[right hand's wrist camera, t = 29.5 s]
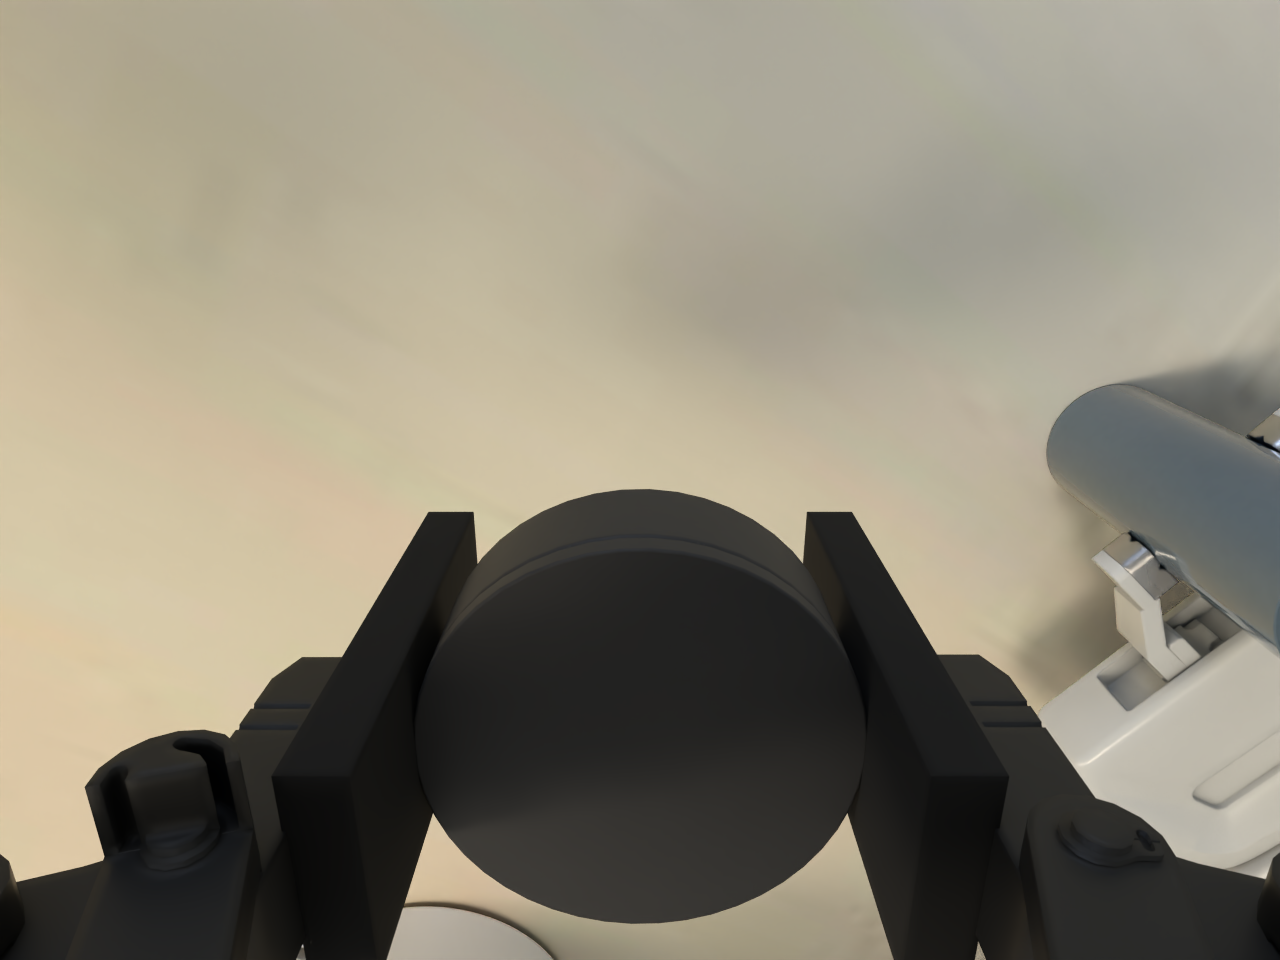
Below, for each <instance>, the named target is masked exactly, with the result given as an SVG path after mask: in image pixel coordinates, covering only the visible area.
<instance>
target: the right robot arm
mask: <svg viewBox="0 0 1280 960" xmlns="http://www.w3.org/2000/svg"><path fill="white" fill-rule="evenodd" d="M803 565H804V566H805V567H806V568H807V569H808V571H809V573H810V574H811V576H812V578H813V579H814V581H815V583H816V584H817V586H818V588H819V589H820V591H821V593H822V596H823V598H824V601H825V603H826V605H827V608H828V610H829V613H830V615H831V618H832V620H833V622H834V625H835V627H836V630H837V632H838V634H839V637H840V639H841V642H842V644H843V646H844V649H845V651H846V654H847V656H848V658H849V661H850V663H851V666H852V668H853V671H854V673H855V675H856V678H857V680H858V683H859V685H860V688H861V692H862V697H863V701H864V705H865V709H866V718H867V736H866V745H865V755H864V763H863V771H862V778H861V782H860V786H859V788H858V791H857V793H856V795H855V798H854V800H853V803H852V805H851V807H850V809H849V811H848V816H849V819H850V822H851V826H852V829H853V832H854V835H855V838H856V841H857V845H858V848H859V851H860V854H861V857H862V860H863V864H864V867H865V870H866V873H867V876H868V879H869V883H870V886H871V889H872V892H873V895H874V898H875V902H876V905H877V908H878V911H879V914H880V917H881V921H882V924H883V927H884V930H885V933H886V936H887V940H888V943H889V946H890V949H891V952H892V956H893V959H894V960H975V955H976V950H977V945H978V942H979V944H980V946H981V949H982V951H983V953H984V956H985V958H986V960H1280V853H1278V854H1277V855H1276V856H1275V857H1273V859H1272V862H1271V865H1270V868H1269V871H1268V874H1267V877H1266V879H1263V878H1259V877H1255V876H1251V875H1246V874H1242V873H1238V872H1233V871H1229V870H1225V869H1220V868H1216V867H1212V866H1207V865H1203V864H1199V863H1195V862H1192V861H1189V860H1185V859H1182V858H1179V857H1176V855H1175V854H1174V852H1173V851H1172V849H1171V848H1170V846H1169V845H1168V843H1167V842H1166V840H1165V839H1164V837H1163V836H1162V835H1161V834H1160V833H1159V832H1158V831H1156V830H1155V829H1154V828H1153V827H1152V826H1150V825H1149V824H1148V823H1147V822H1146V821H1145V820H1143V819H1142V818H1141V817H1139V816H1137V815H1135V814H1133V813H1131V812H1129V811H1127V810H1126V809H1124V808H1122V807H1120V806H1118V805H1116V804H1114V803H1110V802H1107V801H1103V800H1100V799H1097V798H1095V796H1094V795H1093V794H1092V792H1091V791H1090V789H1089V788H1088V786H1087V785H1086V784H1085V782H1084V781H1083V779H1082V778H1081V777H1080V775H1079V774H1078V772H1077V771H1076V770H1075V768H1074V767H1073V765H1072V764H1071V763H1070V761H1069V760H1068V758H1067V757H1066V756H1065V754H1064V753H1063V751H1062V750H1061V748H1060V747H1059V746H1058V744H1057V743H1056V741H1055V740H1054V739H1053V737H1052V736H1051V734H1050V733H1049V732H1048V730H1047V729H1046V727H1042V722H1041V720H1040V719H1039V718H1038V716H1037V715H1036V713H1035V712H1034V710H1033V709H1032V708H1031V706H1027V701H1026V699H1025V698H1024V696H1023V695H1022V694H1021V692H1020V691H1019V689H1018V688H1017V687H1016V685H1015V684H1014V682H1013V681H1012V680H1011V678H1010V677H1009V676H1008V675H1007V674H1005V673H1004V672H1003V671H1001V670H1000V669H998V668H997V667H995V666H994V665H993V664H991V663H990V662H988V661H987V660H986V659H984V658H983V657H981V656H980V655H937V654H936V652H935V651H934V649H933V647H932V646H931V644H930V642H929V640H928V639H927V637H926V635H925V634H924V632H923V630H922V629H921V627H920V625H919V624H918V622H917V620H916V619H915V617H914V615H913V614H912V612H911V610H910V609H909V607H908V605H907V604H906V602H905V600H904V599H903V597H902V595H901V594H900V592H899V590H898V588H897V587H896V585H895V583H894V582H893V580H892V578H891V577H890V575H889V573H888V572H887V570H886V568H885V567H884V565H883V563H882V562H881V560H880V558H879V557H878V555H877V553H876V552H875V550H874V548H873V547H872V545H871V543H870V542H869V540H868V538H867V537H866V535H865V533H864V531H863V530H862V528H861V526H860V525H859V523H858V521H857V520H856V518H855V516H854V515H853V513H852V512H807V519H806V532H805V545H804V558H803ZM476 566H477V552H476V538H475V525H474V512H428V514H427V516H426V517H425V519H424V521H423V522H422V524H421V526H420V527H419V529H418V531H417V532H416V534H415V536H414V537H413V539H412V541H411V542H410V544H409V546H408V547H407V549H406V551H405V552H404V554H403V556H402V558H401V559H400V561H399V563H398V564H397V566H396V568H395V569H394V571H393V573H392V574H391V576H390V578H389V579H388V581H387V583H386V584H385V586H384V588H383V589H382V591H381V593H380V594H379V596H378V598H377V599H376V601H375V603H374V604H373V606H372V608H371V610H370V611H369V613H368V615H367V616H366V618H365V620H364V621H363V623H362V625H361V626H360V628H359V630H358V631H357V633H356V635H355V636H354V638H353V640H352V641H351V643H350V645H349V646H348V648H347V650H346V651H345V653H344V655H343V656H342V657H302V658H300V659H299V660H298V661H296V662H295V663H293V664H292V665H291V666H289V667H288V668H286V669H285V670H284V671H282V672H281V673H279V674H278V675H277V676H275V677H274V678H272V679H271V681H270V682H269V684H268V685H267V687H266V688H265V689H264V691H263V692H262V694H261V695H260V696H259V698H258V699H257V701H256V702H255V704H254V709H250V711H249V712H248V713H247V715H246V716H245V718H244V719H243V721H242V722H241V723H240V728H239V730H235V732H234V733H233V735H232V736H231V738H229V737H227V736H226V735H225V734H221V733H216V732H212V731H208V730H191V731H177V732H173V733H169V734H165V735H162V736H158V737H154V738H150V739H148V740H145V741H143V742H141V743H139V744H137V745H135V746H133V747H130V748H128V749H126V750H124V751H122V752H120V753H119V754H118V755H116V756H115V757H114V758H112V759H111V760H110V761H108V762H107V763H105V764H104V765H103V766H101V767H100V768H99V769H98V770H97V771H96V773H95V774H94V775H93V777H92V778H91V779H90V781H89V782H88V783H87V785H86V786H85V790H86V793H87V797H88V800H89V804H90V807H91V811H92V814H93V818H94V821H95V825H96V828H97V832H98V835H99V839H100V842H101V846H102V849H103V853H104V856H105V857H104V860H103V861H100V862H97V863H94V864H90V865H87V866H84V867H80V868H75V869H71V870H67V871H62V872H58V873H54V874H49V875H45V876H41V877H37V878H32V879H28V880H24V881H19V882H16V880H15V878H14V875H13V872H12V869H11V866H10V863H9V861H8V860H7V859H5V858H4V857H3V856H2V855H0V960H296V959H297V956H298V954H299V952H300V949H301V947H302V945H303V947H304V953H305V958H306V960H387V957H388V954H389V951H390V948H391V944H392V941H393V938H394V935H395V932H396V929H397V925H398V922H399V919H400V916H401V913H402V910H403V906H404V903H405V900H406V897H407V894H408V891H409V887H410V884H411V881H412V878H413V875H414V872H415V868H416V865H417V862H418V859H419V856H420V853H421V849H422V846H423V843H424V840H425V837H426V834H427V830H428V827H429V824H430V821H431V818H432V815H433V811H432V809H431V807H430V805H429V803H428V800H427V798H426V796H425V794H424V791H423V788H422V785H421V781H420V778H419V774H418V766H417V758H416V749H415V739H414V716H415V710H416V705H417V699H418V694H419V692H420V689H421V686H422V683H423V680H424V677H425V674H426V672H427V669H428V667H429V664H430V662H431V659H432V657H433V655H434V652H435V650H436V647H437V645H438V643H439V640H440V638H441V635H442V633H443V631H444V628H445V626H446V623H447V621H448V619H449V616H450V614H451V611H452V609H453V607H454V604H455V602H456V599H457V597H458V595H459V593H460V592H461V590H462V588H463V586H464V584H465V582H466V580H467V578H468V577H469V575H470V574H471V573H472V571H473V570H474V569H475V567H476Z"/></svg>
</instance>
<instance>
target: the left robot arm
mask: <svg viewBox="0 0 1280 960" xmlns="http://www.w3.org/2000/svg"><path fill="white" fill-rule="evenodd" d="M1247 437H1248V438H1249V439H1251V440H1253V441H1256V442H1258V443H1260V444H1262V445H1264V446H1266V447H1268V448H1271V449H1273V450H1275V451H1277V452H1279V453H1280V408H1279V409H1278V410H1276V411H1275V412H1274V413H1273V414H1271V415H1270V416H1269V417H1268V418H1267V419H1266V420H1264V421H1263V422H1262V423H1261V424H1260V425H1258V426H1257V427H1256V428H1255V429H1254V430H1252V431H1251V432H1250V433H1249V434H1248V435H1247ZM1091 559H1092V561H1093V562H1094V563H1095V564H1096V565H1097V566H1098V567H1099V568H1100V569H1101V570H1102V571H1103V572H1104V573H1105V574H1106V575H1107V576H1108V577H1109V578H1110V579H1111V580H1112V581H1113V582H1114V583H1115V584H1116V586H1115V587H1114V599H1115V612H1116V625H1117V631H1118V632H1119V633H1120V634H1121V635H1122V636H1123V637H1124V638H1125V639H1126V640H1127V641H1128V643H1126V644H1125V645H1124V646H1122V647H1121V648H1120V649H1118V650H1117V651H1116V652H1114V653H1113V654H1112V655H1110V656H1109V657H1108V658H1107V659H1105V660H1104V661H1103V662H1101V663H1100V664H1099V665H1097V666H1096V667H1095V668H1093V669H1092V670H1091V671H1089V672H1088V673H1087V674H1085V675H1084V676H1083V677H1081V678H1080V679H1079V680H1078V681H1076V682H1075V683H1074V684H1072V685H1071V686H1070V687H1068V688H1067V689H1066V690H1064V691H1063V692H1062V693H1060V694H1059V695H1058V696H1056V697H1055V698H1053V699H1052V700H1051V701H1049V702H1048V703H1047V704H1045V705H1044V706H1043V707H1042V708H1041V709H1040V711H1039V713H1038V718H1039V719H1040V720H1041V722H1042V727H1046V729H1047V730H1048V732H1049V733H1050V734H1051V736H1052V737H1053V739H1054V740H1055V741H1056V743H1057V744H1058V746H1059V747H1060V748H1061V750H1062V751H1063V753H1064V754H1065V756H1066V757H1067V758H1068V760H1069V761H1070V763H1071V764H1072V765H1073V767H1074V768H1075V770H1076V771H1077V772H1078V774H1079V775H1080V777H1081V778H1082V779H1083V781H1084V782H1085V784H1086V785H1087V786H1088V788H1089V789H1090V791H1091V792H1092V794H1093V795H1094V796H1095V798H1097V799H1100V800H1103V801H1107V802H1110V803H1114V804H1116V805H1118V806H1120V807H1122V808H1124V809H1126V810H1127V811H1129V812H1131V813H1133V814H1135V815H1137V816H1139V817H1141V818H1142V819H1143V820H1145V821H1146V822H1147V823H1148V824H1149V825H1150V826H1152V827H1153V828H1154V829H1155V830H1156V831H1158V832H1159V833H1160V834H1161V835H1162V836H1163V837H1164V839H1165V840H1166V842H1167V843H1168V845H1169V846H1170V848H1171V849H1172V851H1173V852H1174V854H1175V855H1176V857H1179V858H1182V859H1185V860H1189V861H1192V862H1195V863H1199V864H1203V865H1207V866H1212V867H1216V868H1220V869H1225V870H1229V871H1233V872H1238V873H1242V874H1246V875H1251V876H1255V877H1259V878H1263V879H1266V877H1267V874H1268V871H1269V868H1270V865H1271V862H1272V859H1273V857H1275V856H1276V855H1277V854H1278V853H1280V659H1279V658H1277V657H1276V656H1275V655H1274V654H1272V653H1271V652H1270V651H1268V650H1267V649H1266V648H1265V647H1263V646H1262V645H1261V644H1260V643H1258V642H1257V641H1256V640H1255V639H1253V638H1252V637H1251V636H1249V635H1248V634H1247V633H1246V632H1244V631H1243V630H1242V629H1241V628H1239V627H1238V626H1237V625H1235V624H1234V623H1233V622H1232V621H1230V620H1229V619H1228V618H1227V617H1225V616H1224V615H1223V614H1222V613H1220V612H1219V611H1218V610H1216V609H1215V608H1214V607H1213V606H1211V605H1210V604H1209V603H1208V602H1206V601H1205V600H1204V599H1202V598H1201V597H1200V596H1199V595H1197V594H1196V593H1195V592H1194V593H1192V594H1191V595H1190V596H1188V597H1187V598H1186V599H1184V600H1183V601H1182V602H1180V603H1179V604H1178V605H1176V606H1175V607H1174V608H1172V609H1171V610H1170V611H1169V612H1167V613H1166V614H1165V615H1163V616H1162V610H1161V603H1160V598H1159V597H1160V596H1162V595H1163V594H1164V593H1165V592H1167V591H1168V590H1169V589H1170V588H1172V587H1173V586H1174V585H1175V584H1176V583H1178V581H1177V580H1176V579H1175V577H1174V576H1173V575H1172V574H1171V573H1169V572H1168V571H1167V570H1166V569H1165V568H1163V567H1162V566H1161V565H1160V562H1159V561H1158V560H1157V558H1156V557H1155V556H1154V555H1153V554H1152V553H1151V552H1150V551H1149V550H1148V549H1146V548H1145V547H1144V546H1143V545H1142V544H1140V543H1139V542H1138V541H1135V540H1134V539H1133V538H1132V537H1131V536H1130V535H1129V534H1128V533H1126V532H1124V533H1123V534H1121V535H1120V536H1119V537H1118V538H1116V539H1115V540H1114V541H1112V542H1111V543H1110V544H1109V545H1107V546H1106V547H1105V548H1103V550H1102V551H1100V552H1099V553H1098V554H1096V555H1095V556H1094V557H1093V558H1091ZM296 960H306V958H305V953H304V947H303V945H302V947H301V949H300V952H299V954H298V956H297V959H296ZM387 960H553V958H552V957H551V956H550V955H549V954H548V953H547V952H546V951H545V950H544V949H543V948H542V947H541V946H540V945H539V944H537V943H536V942H535V941H534V940H532V939H531V938H529V937H528V936H527V935H525V934H524V933H522V932H520V931H519V930H517V929H515V928H513V927H511V926H509V925H507V924H505V923H503V922H501V921H498V920H496V919H493V918H491V917H488V916H485V915H482V914H478V913H474V912H470V911H466V910H461V909H454V908H446V907H431V906H423V907H406V908H403V910H402V913H401V916H400V919H399V922H398V925H397V929H396V932H395V935H394V938H393V941H392V944H391V948H390V951H389V954H388V957H387Z"/></svg>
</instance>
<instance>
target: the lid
mask: <svg viewBox="0 0 1280 960" xmlns="http://www.w3.org/2000/svg"><path fill="white" fill-rule="evenodd" d="M866 736H867V718H866V709H865V705H864V701H863V697H862V692H861V688H860V685H859V683H858V680H857V678H856V675H855V673H854V671H853V668H852V666H851V663H850V661H849V658H848V656H847V654H846V651H845V649H844V646H843V644H842V642H841V639H840V637H839V634H838V632H837V630H836V627H835V625H834V622H833V620H832V618H831V615H830V613H829V610H828V608H827V605H826V603H825V601H824V598H823V596H822V593H821V591H820V589H819V588H818V586H817V584H816V583H815V581H814V579H813V578H812V576H811V574H810V573H809V571H808V569H807V568H806V567H805V566H804V565H803V563H802V562H801V561H800V560H799V558H798V557H797V556H796V555H795V554H794V552H793V551H792V550H791V549H790V548H788V547H787V546H786V545H785V544H784V543H783V542H782V541H781V540H780V539H779V538H778V537H777V536H775V535H774V534H773V533H772V532H770V531H769V530H767V529H766V528H764V527H763V526H762V525H760V524H759V523H757V522H756V521H754V520H753V519H751V518H749V517H747V516H745V515H743V514H741V513H739V512H737V511H735V510H734V509H732V508H730V507H727V506H724V505H722V504H719V503H716V502H713V501H711V500H708V499H705V498H701V497H697V496H693V495H688V494H684V493H679V492H672V491H662V490H653V489H635V490H617V491H610V492H603V493H596V494H592V495H588V496H584V497H581V498H577V499H573V500H570V501H567V502H564V503H562V504H559V505H557V506H555V507H552V508H550V509H547V510H545V511H543V512H541V513H539V514H537V515H536V516H534V517H532V518H530V519H529V520H527V521H525V522H523V523H522V524H520V525H519V526H517V527H516V528H515V529H514V530H512V531H511V532H510V533H508V534H507V535H506V536H504V537H503V538H502V539H501V540H499V541H498V542H497V543H496V544H495V545H494V547H493V548H492V549H491V550H490V551H489V552H488V553H487V554H486V555H485V556H484V557H483V558H482V559H481V560H480V562H479V563H478V564H477V566H476V567H475V569H474V570H473V571H472V573H471V574H470V575H469V577H468V578H467V580H466V582H465V584H464V586H463V588H462V590H461V592H460V593H459V595H458V597H457V599H456V602H455V604H454V607H453V609H452V611H451V614H450V616H449V619H448V621H447V623H446V626H445V628H444V631H443V633H442V635H441V638H440V640H439V643H438V645H437V647H436V650H435V652H434V655H433V657H432V659H431V662H430V664H429V667H428V669H427V672H426V674H425V677H424V680H423V683H422V686H421V689H420V692H419V694H418V699H417V705H416V710H415V716H414V739H415V749H416V758H417V766H418V774H419V778H420V781H421V785H422V788H423V791H424V794H425V796H426V798H427V800H428V803H429V805H430V807H431V809H432V811H433V813H434V815H435V817H436V818H437V820H438V821H439V823H440V824H441V826H442V827H443V829H444V830H445V832H446V833H447V835H448V836H449V838H450V839H451V840H452V841H453V842H454V843H455V844H456V846H457V847H458V848H459V849H460V850H461V851H462V853H463V854H464V855H465V856H466V857H467V858H469V859H470V860H471V861H472V862H473V863H474V864H475V865H476V866H478V867H479V868H480V869H481V870H482V871H483V872H484V873H486V874H487V875H489V876H490V877H492V878H493V879H495V880H496V881H497V882H499V883H500V884H502V885H503V886H505V887H506V888H508V889H510V890H512V891H514V892H516V893H517V894H519V895H521V896H523V897H525V898H527V899H529V900H531V901H534V902H536V903H539V904H541V905H544V906H546V907H548V908H551V909H554V910H557V911H561V912H564V913H568V914H571V915H574V916H578V917H583V918H589V919H594V920H600V921H605V922H618V923H630V924H640V923H664V922H673V921H682V920H688V919H693V918H697V917H702V916H706V915H711V914H714V913H717V912H720V911H723V910H726V909H729V908H733V907H736V906H738V905H740V904H743V903H745V902H747V901H749V900H751V899H754V898H756V897H758V896H760V895H762V894H764V893H766V892H767V891H769V890H771V889H772V888H774V887H776V886H778V885H779V884H781V883H783V882H784V881H785V880H787V879H788V878H789V877H791V876H792V875H793V874H795V873H796V872H797V871H799V870H800V869H801V868H803V867H804V866H805V865H806V864H807V863H808V862H809V861H810V860H811V859H812V858H813V857H814V856H815V855H816V854H817V853H818V852H819V851H820V850H821V849H822V848H823V847H824V846H825V845H826V843H827V842H828V841H829V840H830V838H831V837H832V836H833V835H834V833H835V832H836V831H837V830H838V828H839V826H840V824H841V823H842V821H843V819H844V818H845V816H846V814H847V813H848V811H849V809H850V807H851V805H852V803H853V800H854V798H855V795H856V793H857V791H858V788H859V786H860V782H861V778H862V771H863V763H864V755H865V745H866Z"/></svg>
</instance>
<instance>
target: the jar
mask: <svg viewBox="0 0 1280 960" xmlns="http://www.w3.org/2000/svg"><path fill="white" fill-rule="evenodd" d="M1047 461H1048V466H1049V469H1050V472H1051V474H1052V476H1053V478H1054V479H1055V481H1056V482H1057V483H1058V484H1059V485H1060V486H1061V487H1062V488H1063V489H1064V490H1065V491H1067V492H1068V493H1069V494H1070V495H1072V496H1073V497H1074V498H1076V499H1077V500H1078V501H1079V502H1081V503H1082V504H1083V505H1084V506H1086V507H1087V508H1088V509H1090V510H1091V511H1092V512H1093V513H1095V514H1096V515H1097V516H1098V517H1100V518H1101V519H1102V520H1103V521H1105V522H1106V523H1107V524H1109V525H1110V526H1111V527H1112V528H1114V529H1115V530H1116V531H1117V532H1119V533H1120V534H1123V533H1124V532H1126V533H1128V534H1129V535H1130V536H1131V537H1132V538H1133V539H1134V540H1135V541H1138V542H1139V543H1140V544H1142V545H1143V546H1144V547H1145V548H1146V549H1148V550H1149V551H1150V552H1151V553H1152V554H1153V555H1154V556H1155V557H1156V558H1157V560H1158V561H1159V562H1160V565H1161V566H1162V567H1163V568H1165V569H1166V570H1167V571H1168V572H1169V573H1171V574H1172V575H1173V576H1175V577H1176V578H1177V579H1178V580H1180V581H1181V582H1182V583H1183V584H1185V585H1186V586H1187V587H1189V588H1190V589H1191V590H1192V591H1194V592H1195V593H1196V594H1197V595H1199V596H1200V597H1201V598H1202V599H1204V600H1205V601H1206V602H1208V603H1209V604H1210V605H1211V606H1213V607H1214V608H1215V609H1216V610H1218V611H1219V612H1220V613H1222V614H1223V615H1224V616H1225V617H1227V618H1228V619H1229V620H1230V621H1232V622H1233V623H1234V624H1235V625H1237V626H1238V627H1239V628H1241V629H1242V630H1243V631H1244V632H1246V633H1247V634H1248V635H1249V636H1251V637H1252V638H1253V639H1255V640H1256V641H1257V642H1258V643H1260V644H1261V645H1262V646H1263V647H1265V648H1266V649H1267V650H1268V651H1270V652H1271V653H1272V654H1274V655H1275V656H1276V657H1277V658H1279V659H1280V453H1279V452H1277V451H1275V450H1273V449H1271V448H1268V447H1266V446H1264V445H1262V444H1260V443H1258V442H1256V441H1253V440H1251V439H1249V438H1247V437H1245V436H1243V435H1240V434H1238V433H1236V432H1234V431H1232V430H1230V429H1228V428H1225V427H1223V426H1221V425H1219V424H1217V423H1215V422H1213V421H1210V420H1208V419H1206V418H1204V417H1202V416H1200V415H1198V414H1195V413H1193V412H1191V411H1189V410H1187V409H1185V408H1183V407H1180V406H1178V405H1176V404H1174V403H1172V402H1170V401H1168V400H1165V399H1163V398H1161V397H1159V396H1157V395H1155V394H1153V393H1150V392H1148V391H1146V390H1144V389H1141V388H1139V387H1135V386H1130V385H1110V386H1105V387H1101V388H1098V389H1095V390H1093V391H1090V392H1088V393H1086V394H1085V395H1083V396H1081V397H1079V398H1078V399H1077V400H1075V401H1074V402H1073V403H1072V404H1070V405H1069V406H1068V407H1067V408H1066V409H1065V410H1064V412H1063V413H1062V414H1061V415H1060V417H1059V418H1058V419H1057V421H1056V423H1055V424H1054V426H1053V428H1052V431H1051V433H1050V436H1049V440H1048V444H1047Z"/></svg>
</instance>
